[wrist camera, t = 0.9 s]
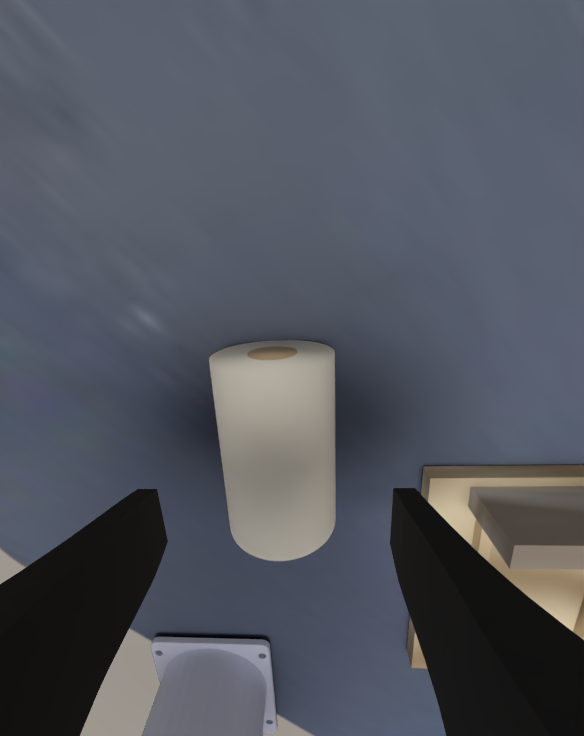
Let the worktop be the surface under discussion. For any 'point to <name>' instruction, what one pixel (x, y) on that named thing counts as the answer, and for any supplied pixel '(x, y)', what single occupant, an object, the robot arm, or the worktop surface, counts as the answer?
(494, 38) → the worktop surface
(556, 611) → the roll holder
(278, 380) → the paper roll
